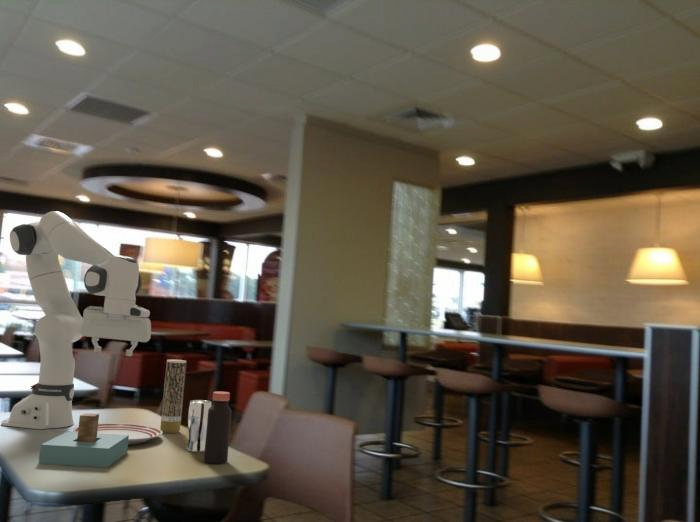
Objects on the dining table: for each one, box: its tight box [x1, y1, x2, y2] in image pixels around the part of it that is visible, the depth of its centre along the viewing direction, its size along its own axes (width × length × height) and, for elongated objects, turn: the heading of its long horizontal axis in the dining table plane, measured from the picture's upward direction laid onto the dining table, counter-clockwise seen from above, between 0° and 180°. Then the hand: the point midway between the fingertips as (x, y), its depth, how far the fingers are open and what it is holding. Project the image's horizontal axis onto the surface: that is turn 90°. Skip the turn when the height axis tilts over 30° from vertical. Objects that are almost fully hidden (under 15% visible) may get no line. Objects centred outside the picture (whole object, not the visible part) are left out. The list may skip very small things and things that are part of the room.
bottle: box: [203, 390, 233, 465], centre depth 180 cm, size 7×7×20 cm
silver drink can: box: [186, 399, 212, 453], centre depth 193 cm, size 7×7×15 cm
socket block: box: [38, 431, 129, 468], centre depth 174 cm, size 18×18×5 cm
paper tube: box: [159, 359, 187, 434], centre depth 217 cm, size 7×7×25 cm
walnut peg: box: [77, 412, 100, 442], centre depth 174 cm, size 4×4×12 cm
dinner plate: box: [72, 422, 164, 446], centre depth 200 cm, size 27×27×3 cm
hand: (113, 354), depth 185 cm, fingers open, 8 cm apart
